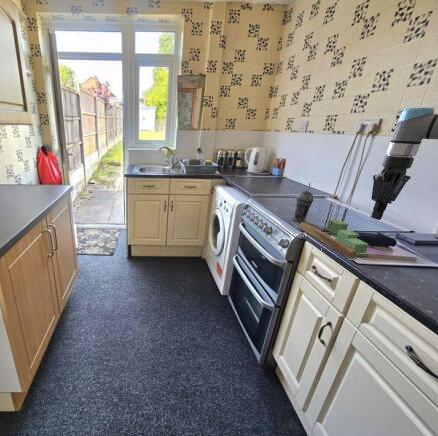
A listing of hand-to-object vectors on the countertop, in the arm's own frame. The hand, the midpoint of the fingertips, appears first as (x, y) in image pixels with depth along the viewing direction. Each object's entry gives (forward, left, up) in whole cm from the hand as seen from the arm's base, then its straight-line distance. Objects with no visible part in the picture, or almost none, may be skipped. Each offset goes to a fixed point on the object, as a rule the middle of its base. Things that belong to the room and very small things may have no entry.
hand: (375, 218), depth 95 cm
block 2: (+9, +5, -12) cm, 16 cm away
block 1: (0, -15, -12) cm, 19 cm away
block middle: (+5, -4, -12) cm, 14 cm away
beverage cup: (+8, -29, -13) cm, 32 cm away
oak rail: (+13, -6, -12) cm, 19 cm away
